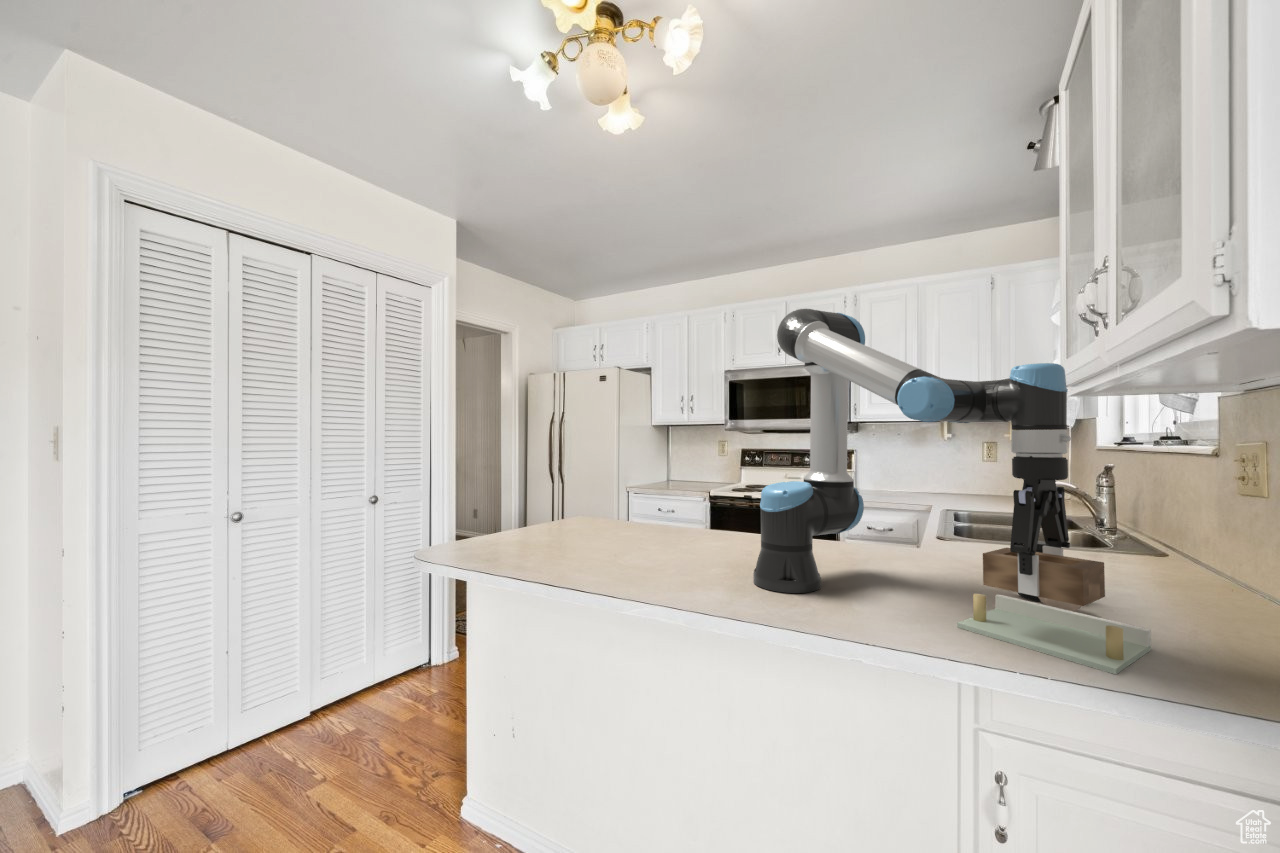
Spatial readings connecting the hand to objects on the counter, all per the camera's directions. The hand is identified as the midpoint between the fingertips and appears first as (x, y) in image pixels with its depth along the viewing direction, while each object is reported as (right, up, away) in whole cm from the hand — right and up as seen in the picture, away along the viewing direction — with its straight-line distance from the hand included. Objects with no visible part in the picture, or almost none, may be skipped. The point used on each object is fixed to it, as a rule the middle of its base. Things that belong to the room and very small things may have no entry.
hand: (1041, 589), depth 88 cm
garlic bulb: (+15, -9, +15) cm, 23 cm away
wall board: (+2, -9, +2) cm, 9 cm away
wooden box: (0, 0, 0) cm, 0 cm away
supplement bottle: (+17, -9, +23) cm, 30 cm away
